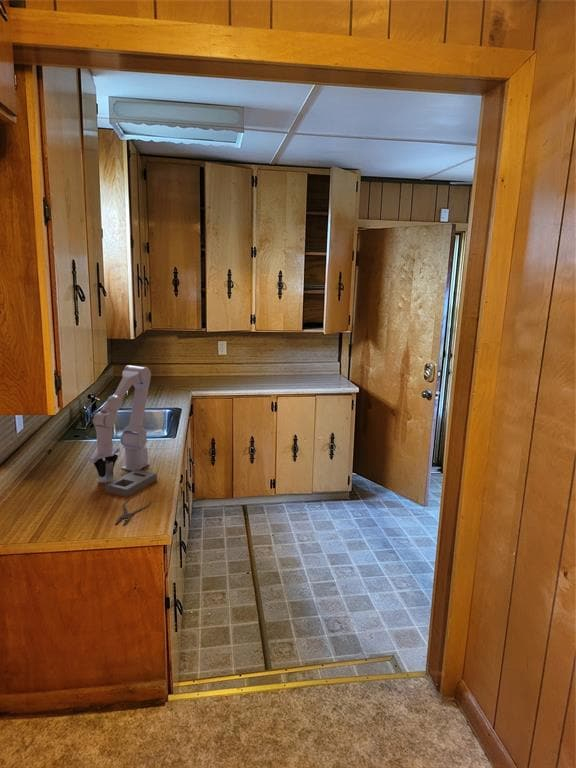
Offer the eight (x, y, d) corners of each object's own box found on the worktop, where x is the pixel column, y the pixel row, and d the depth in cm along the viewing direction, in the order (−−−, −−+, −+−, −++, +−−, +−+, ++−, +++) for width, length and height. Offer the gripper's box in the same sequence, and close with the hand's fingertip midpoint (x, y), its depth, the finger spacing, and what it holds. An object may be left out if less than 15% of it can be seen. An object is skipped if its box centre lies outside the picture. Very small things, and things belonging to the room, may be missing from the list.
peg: (105, 478, 196) (105, 459, 194) (113, 480, 194) (112, 461, 193) (98, 482, 192) (97, 463, 190) (106, 484, 190) (105, 464, 189)
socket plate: (136, 475, 200) (136, 468, 199) (156, 480, 196) (156, 473, 195) (105, 492, 183) (105, 484, 183) (126, 497, 180) (126, 489, 179)
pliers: (152, 497, 179) (144, 523, 160) (152, 500, 179) (144, 526, 160) (125, 498, 178) (114, 524, 158) (125, 500, 178) (114, 527, 158)
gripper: (99, 448, 182) (100, 482, 184) (125, 438, 195) (126, 470, 198) (84, 445, 184) (86, 479, 187) (111, 435, 197) (112, 467, 200)
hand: (105, 474), depth 192 cm, fingers closed on peg, 4 cm apart
